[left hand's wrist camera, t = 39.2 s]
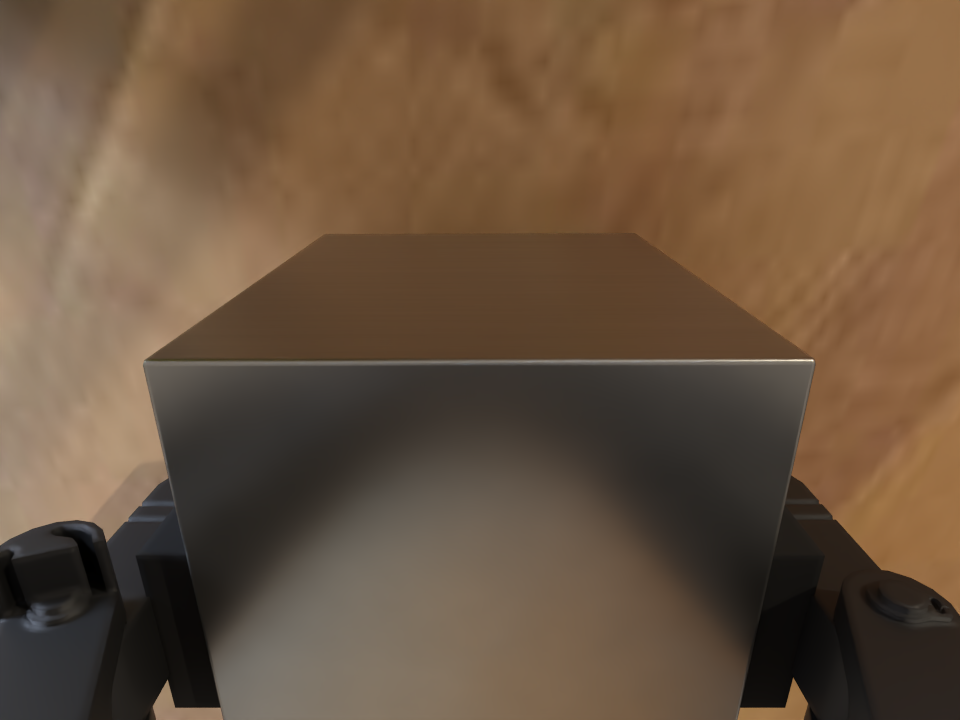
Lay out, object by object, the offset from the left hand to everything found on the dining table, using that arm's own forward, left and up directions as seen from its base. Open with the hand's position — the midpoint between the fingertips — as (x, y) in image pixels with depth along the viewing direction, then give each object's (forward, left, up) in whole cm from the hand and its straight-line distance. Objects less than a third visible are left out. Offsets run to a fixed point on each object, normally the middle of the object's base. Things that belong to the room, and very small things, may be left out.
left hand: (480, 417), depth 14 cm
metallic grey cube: (0, 0, -1) cm, 1 cm away
